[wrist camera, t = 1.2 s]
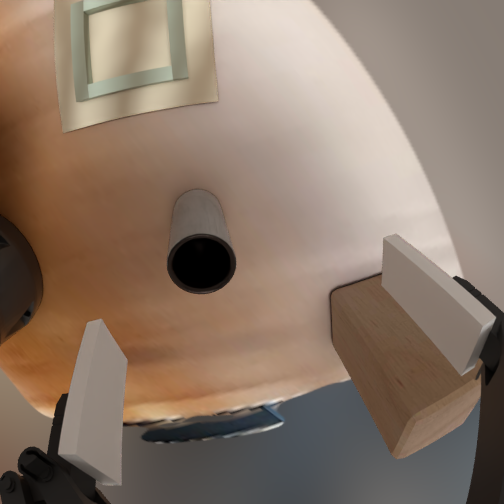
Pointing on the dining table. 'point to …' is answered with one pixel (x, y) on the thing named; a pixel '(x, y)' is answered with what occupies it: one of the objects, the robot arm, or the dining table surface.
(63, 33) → the stand
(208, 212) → the grey hollow tube
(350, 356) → the block
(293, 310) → the dining table surface
